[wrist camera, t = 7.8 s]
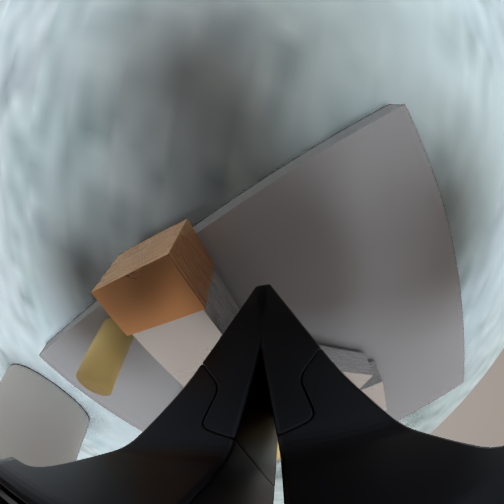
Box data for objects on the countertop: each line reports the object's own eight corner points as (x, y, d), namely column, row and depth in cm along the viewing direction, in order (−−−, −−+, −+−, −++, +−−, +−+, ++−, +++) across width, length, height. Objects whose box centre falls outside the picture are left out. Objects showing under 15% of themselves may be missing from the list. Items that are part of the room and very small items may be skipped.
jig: (458, 371, 14) (478, 411, 11) (230, 461, 19) (228, 497, 16) (389, 104, 7) (468, 109, 4) (46, 344, 12) (18, 390, 9)
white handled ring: (312, 161, 7) (336, 180, 5) (384, 414, 13) (392, 441, 11) (59, 289, 9) (32, 323, 7) (238, 452, 15) (238, 478, 13)
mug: (-3, 347, 13) (-57, 447, 4) (81, 393, 15) (39, 521, 5) (34, 412, 19) (6, 486, 9) (100, 444, 20) (79, 527, 10)
